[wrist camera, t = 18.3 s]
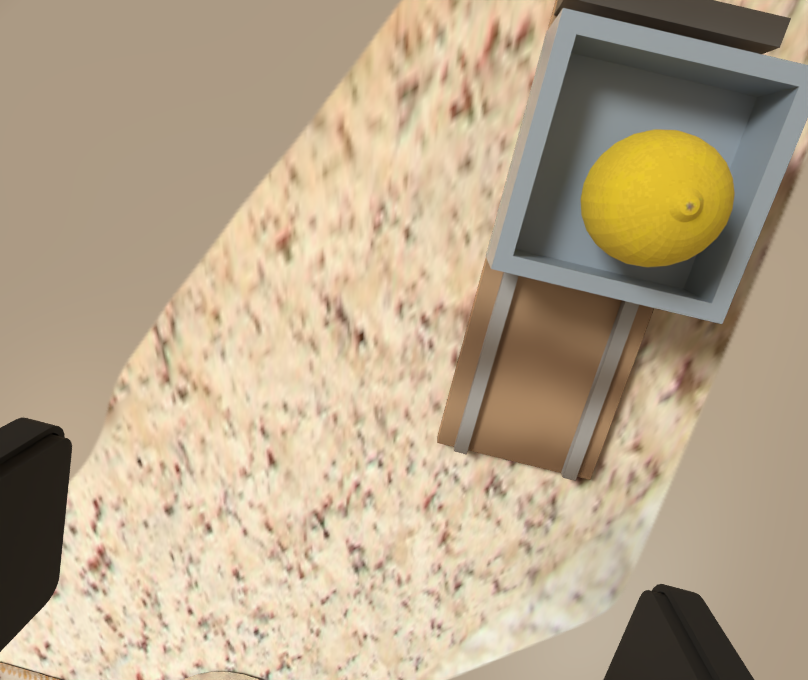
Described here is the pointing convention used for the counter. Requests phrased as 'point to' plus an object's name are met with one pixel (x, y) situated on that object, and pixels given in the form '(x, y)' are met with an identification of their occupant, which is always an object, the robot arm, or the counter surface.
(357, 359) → the counter surface
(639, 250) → the lemon
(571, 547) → the counter surface
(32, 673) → the decorative jar
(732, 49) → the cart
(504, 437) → the track
